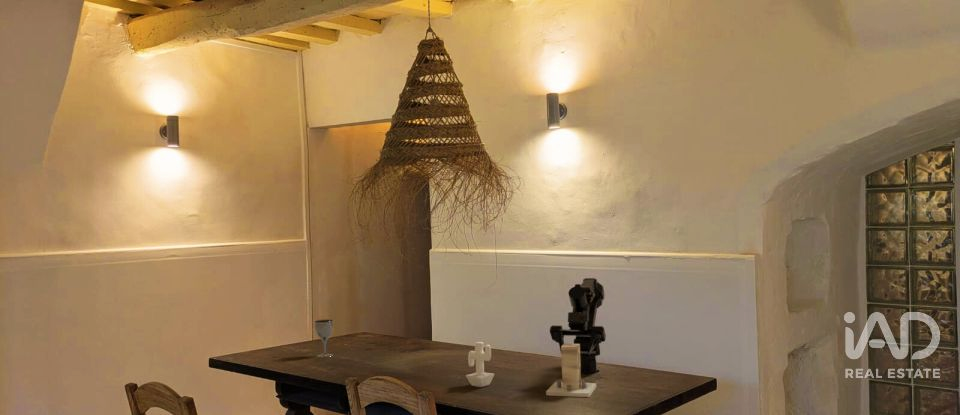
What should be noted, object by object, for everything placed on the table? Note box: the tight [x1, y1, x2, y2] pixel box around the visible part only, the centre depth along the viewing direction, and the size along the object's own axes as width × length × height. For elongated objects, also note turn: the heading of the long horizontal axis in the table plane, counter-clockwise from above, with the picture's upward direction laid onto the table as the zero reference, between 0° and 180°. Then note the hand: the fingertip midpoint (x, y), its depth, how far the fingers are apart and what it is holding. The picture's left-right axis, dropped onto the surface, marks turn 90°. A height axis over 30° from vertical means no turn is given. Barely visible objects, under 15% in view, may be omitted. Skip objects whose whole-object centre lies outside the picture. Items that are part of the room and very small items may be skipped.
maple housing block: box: [560, 343, 582, 390], centre depth 266 cm, size 5×5×14 cm
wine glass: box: [313, 319, 334, 358], centre depth 343 cm, size 8×8×15 cm
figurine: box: [465, 341, 495, 388], centre depth 279 cm, size 7×9×15 cm
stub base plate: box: [545, 381, 597, 398], centre depth 266 cm, size 14×14×3 cm
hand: (574, 354), depth 273 cm, fingers open, 9 cm apart
